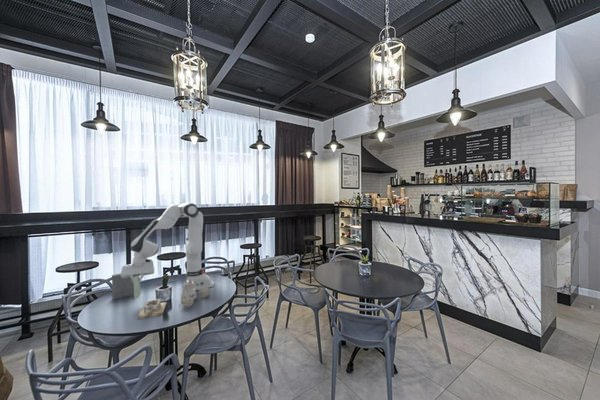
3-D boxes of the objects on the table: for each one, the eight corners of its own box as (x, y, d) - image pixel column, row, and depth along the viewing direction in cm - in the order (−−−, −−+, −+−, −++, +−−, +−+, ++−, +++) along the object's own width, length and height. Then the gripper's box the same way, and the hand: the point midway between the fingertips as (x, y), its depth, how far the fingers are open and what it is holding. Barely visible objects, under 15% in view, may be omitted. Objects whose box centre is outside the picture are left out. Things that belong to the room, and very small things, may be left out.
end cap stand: (166, 304, 173) (166, 296, 173) (162, 314, 158) (162, 306, 158) (143, 307, 168) (143, 299, 168) (137, 318, 153) (137, 310, 153)
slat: (140, 294, 173) (139, 275, 172) (138, 297, 168) (137, 277, 168) (136, 295, 172) (135, 275, 171) (134, 298, 167) (133, 278, 167)
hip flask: (112, 299, 182) (111, 272, 181) (113, 297, 185) (112, 271, 185) (137, 294, 190) (137, 269, 190) (138, 292, 194) (137, 267, 193)
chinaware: (189, 314, 162) (191, 289, 161) (168, 309, 166) (169, 285, 165) (213, 296, 189) (214, 275, 189) (194, 292, 193) (195, 272, 192)
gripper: (121, 263, 172) (117, 281, 163) (154, 259, 179) (152, 277, 170) (123, 267, 176) (119, 285, 168) (155, 263, 183) (153, 281, 175)
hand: (136, 281), depth 169 cm, fingers closed on slat, 2 cm apart
